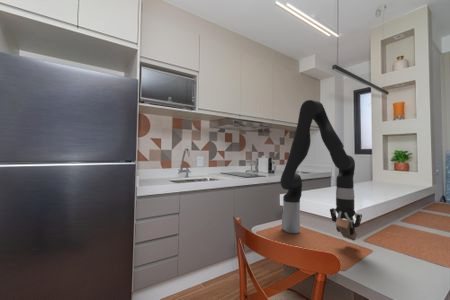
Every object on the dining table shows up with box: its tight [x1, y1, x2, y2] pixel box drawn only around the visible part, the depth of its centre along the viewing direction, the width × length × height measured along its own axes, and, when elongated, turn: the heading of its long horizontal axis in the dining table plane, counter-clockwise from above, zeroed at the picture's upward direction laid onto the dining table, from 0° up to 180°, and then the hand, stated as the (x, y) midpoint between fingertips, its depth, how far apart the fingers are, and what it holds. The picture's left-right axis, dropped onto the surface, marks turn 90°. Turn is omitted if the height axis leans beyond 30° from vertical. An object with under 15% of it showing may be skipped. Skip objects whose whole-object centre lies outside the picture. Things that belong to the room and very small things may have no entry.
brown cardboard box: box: [334, 218, 358, 241], centre depth 98 cm, size 5×4×11 cm
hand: (345, 233), depth 97 cm, fingers closed on brown cardboard box, 5 cm apart
